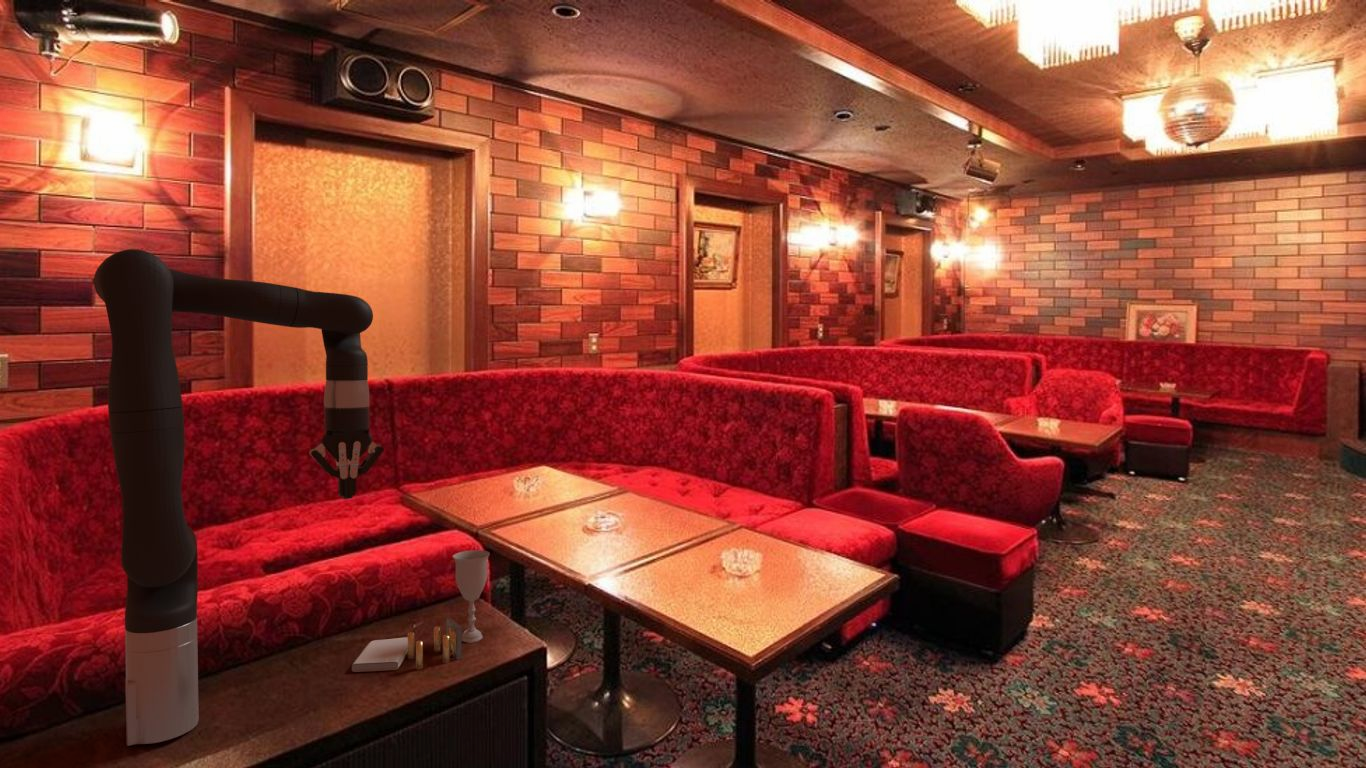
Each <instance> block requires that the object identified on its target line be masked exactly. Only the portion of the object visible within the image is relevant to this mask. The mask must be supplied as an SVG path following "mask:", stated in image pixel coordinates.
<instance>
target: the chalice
mask: <svg viewBox="0 0 1366 768" xmlns="http://www.w3.org/2000/svg"><path fill="white" fill-rule="evenodd" d="M489 556H490V551H487V550H481V549H480V550H477V549H475V550H474V549H473V550H465V551H460V552H457V553H455V554H453V555H452V558H453V559H454V562H455V582H456V585H457V587H458V590H459V592H460V594H461V596H462V598H463V599H464V600H465V601H468V604H469V605H468V609H467V612H468V617H467V619H466V620H467V621H468V624H469V625H468V628H467V629H465V630H464V631H463V632H462V634H461V642H464V643H465V644H466V643H467V644H475V643H476V642H479V641H480V640H482V639H483V635H482V632H481V631H480V630H479V629H478V628H476V627H475V622H476V620H477V618H476V617H475V612H476V607H475V601H476V600H478V599H479V598H480V596H481V594H482V592H483V590H484V588H485V585H486V582H487V580H488V559H489Z"/></svg>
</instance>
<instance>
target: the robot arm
mask: <svg viewBox="0 0 1366 768" xmlns="http://www.w3.org/2000/svg"><path fill="white" fill-rule="evenodd" d="M93 287H94V289H95V292H96V294H97V296H98V297H99V298H100V299H101V301H103V303H104V304H105V310H106V314H107V320H108V324H109V329H110V334H111V335H110V337H111V357H110V359H111V360H110V366H109V374H108V375H109V376H108V386H107V387H108V389H107V411H108V421H109V429H110V430H109V432H110V439H111V445H112V451H113V458H114V463H115V468H116V469H115V470H116V476H117V479H118V484H119V488H120V493H121V502H122V535H121V536H122V538H121V551H120V552H121V553H120V562H121V563H120V564H121V567H122V570H123V571H124V573H125V575H126V581H127V582H126V588H127V589H126V590H127V591H126V601H125V611H124V635H125V636H124V637H125V638H124V639H125V641H124V642H125V717H126V718H125V722H126V726H125V727H126V729H125V731H126V734H125V735H126V746H127V747H128V746H129V747H130V746H133V745H134V746H135V745H146V744H148V745H149V744H157V743H161V742H165V741H169V740H172V739H174V738H177V737H180V736H182V735H184V734H186V733H188V732H190V731H191V730H194V728H195V727H196V726H197V725H198V723H199V713H200V712H199V709H200V707H199V675H198V674H199V667H198V666H199V663H198V661H199V659H198V658H199V657H198V653H199V652H198V651H199V650H198V597H199V596H198V594H199V593H198V591H199V590H198V589H199V587H198V586H199V585H198V583H199V582H198V577H199V575H198V574H199V572H198V569H199V567H198V561H199V560H198V542H197V541H198V540H197V537H196V533H195V532H194V530H193V529H192V528H191V527H190V526H189V525H188V524H187V521H186V517H185V516H186V515H185V510H184V504H183V498H182V497H183V496H182V485H183V484H182V482H183V481H182V480H183V472H184V463H185V450H186V446H185V445H186V433H185V432H186V431H185V430H186V429H185V428H186V427H185V418H184V416H185V415H184V407H183V406H184V404H183V398H182V392H181V385H180V384H181V383H180V379H179V372H178V371H179V370H178V365H177V361H176V357H175V353H174V352H175V351H174V346H173V334H172V333H173V332H172V329H173V327H172V326H173V325H172V324H173V313H174V312H175V313H176V312H177V313H192V314H202V315H211V316H217V317H225V318H229V319H236V320H241V321H247V322H255V323H259V324H265V325H272V326H281V327H289V328H296V329H297V328H298V329H301V328H302V329H304V328H311V329H312V328H313V329H318V330H321V335H322V336H321V337H322V342H323V347H324V351H325V357H326V358H325V387H324V394H323V395H324V398H323V407H324V413H323V414H324V434H323V437H322V438H321V443H320V444H319V445H317V446H316V447H315V448H312V449H310V450H309V451H308V453H309V454H308V455H310V456H311V457H312V459H313V460H314V461H315V462H316V463H317V464H318V465H319V466H320V467H321V468H322V469H323V470H324V471H325V473H327V475H329V476H331V477H335V478H337V492H338V495H339V496H340V497H341V498H342V499H343V500H348V499H353V497H354V496H356V494H357V478H358V477H360V476H361V475H365V474H367V473H368V472H369V470H370V469H371V468H372V466H373V465H374V464H375V462H376V461H377V460H378V459H379V458H380V457H381V455H382V454H383V453H384V450H385V449H384V447H383V446H381V445H379V444H377V443H376V442H374V441H373V437H372V435H371V433H370V388H369V381H368V378H369V376H368V375H369V373H368V370H369V369H368V365H369V363H368V355H367V353H366V351H365V350H364V349H363V348H362V342H361V333H363V332H365V331H366V330H367V329H369V327H370V326H372V322H373V320H374V313H373V309H372V307H371V305H370V304H369V303H368V302H367V301H365V300H364V299H363V298H361V297H358V296H357V295H351V294H345V293H335V292H323V291H315V290H313V291H312V290H308V289H304V288H299V287H294V286H289V285H282V284H278V283H277V284H276V283H270V282H263V281H257V280H255V281H253V280H243V279H242V280H241V279H230V278H227V279H226V278H218V277H217V278H216V277H209V276H202V275H197V274H192V273H187V272H185V271H184V272H182V271H179V270H176V269H172V268H169V267H168V265H167V264H166V263H165V262H164V261H163V260H162V259H161V258H159V257H158V256H156V255H155V254H154V253H151V252H148V251H147V250H143V249H135V248H134V249H133V248H132V249H131V248H130V249H125V250H120V251H116V252H114V253H112V254H110V255H109V256H108V257H106V258H105V259H104V260H103V261H102V262H101V263H100V264H99V266H98V267H97V268H96V271H95V272H94V276H93ZM325 450H326V451H327V452H328V453H329V454H330V456H331V457H332V458H333V459H335V465H336V469H335V468H334V467H333V466H332V465H331V464H330V463H329V461H327V460H326V458H325V456H326V454H327V453H326V451H325ZM366 451H367V452H368V454H367V456H366V457H365V458H364V460H363V461H362V462H361V463H360V459H361V457H362V456H363V455H364V453H365V452H366ZM359 464H360V465H359Z"/></svg>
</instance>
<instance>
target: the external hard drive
mask: <svg viewBox="0 0 1366 768" xmlns="http://www.w3.org/2000/svg"><path fill="white" fill-rule="evenodd" d="M407 654H408V636H406V637H405V636H404V637H398V638H397V637H396V638H395V637H394V638H389V639H387V638H386V639H375V640H372V641H370V642H368V643H367V645H366V646H365V647H364V649H363V650H362V652H361V653H360V654H359V655H358V657H357V658H356V659H355V660H354V662H353V663H352V664H351V671H352V672H354V673H357V672H358V673H359V672H360V673H362V672H378V671H381V672H382V671H383V672H384V671H396V670H398V669H399V668H400V666H401V665H402V663H403V662H404V659H405V658H406V656H407Z"/></svg>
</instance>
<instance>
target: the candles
mask: <svg viewBox="0 0 1366 768" xmlns="http://www.w3.org/2000/svg"><path fill="white" fill-rule="evenodd" d="M445 620H446V622H445V623H446V624H445V625H446V634H444V635H442V663H443V664H448V663H450V659H451V658H450V652H451V653H452V657H453V658H455V659H456V660H457V661H459V660H462V640H461V637H462V634H463V631H462V629H463V628H462V626H461V625H460V624H458V622H456V621H455V620H454V619H453V618H452V617H446V619H445ZM407 637H408V651H407V659H408V660H413V659H415V670H418V671H420V670H423V668H424V646H423V645H424V644H423V643H424V642H423V640H417V641H416V642H415V632H413V631H410V632H408V633H407ZM433 650H434V652H435V653H436V652H437V653H438V652H440V651H441V626H434V627H433Z"/></svg>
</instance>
